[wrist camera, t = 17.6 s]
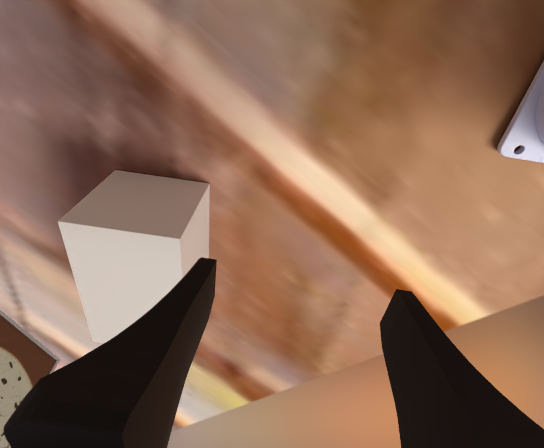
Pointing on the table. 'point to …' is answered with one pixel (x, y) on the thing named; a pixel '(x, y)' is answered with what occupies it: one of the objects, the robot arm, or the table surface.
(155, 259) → the white block
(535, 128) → the robot arm
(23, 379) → the food container
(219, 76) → the table surface
